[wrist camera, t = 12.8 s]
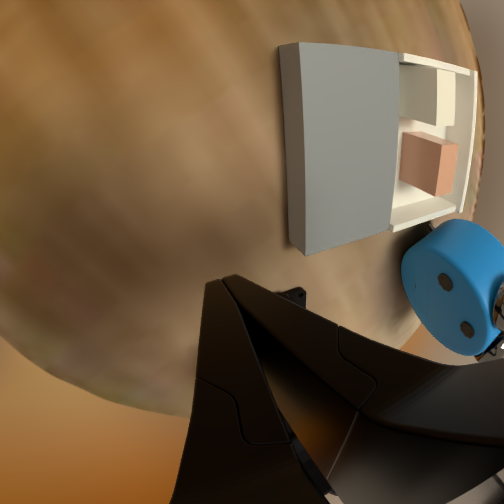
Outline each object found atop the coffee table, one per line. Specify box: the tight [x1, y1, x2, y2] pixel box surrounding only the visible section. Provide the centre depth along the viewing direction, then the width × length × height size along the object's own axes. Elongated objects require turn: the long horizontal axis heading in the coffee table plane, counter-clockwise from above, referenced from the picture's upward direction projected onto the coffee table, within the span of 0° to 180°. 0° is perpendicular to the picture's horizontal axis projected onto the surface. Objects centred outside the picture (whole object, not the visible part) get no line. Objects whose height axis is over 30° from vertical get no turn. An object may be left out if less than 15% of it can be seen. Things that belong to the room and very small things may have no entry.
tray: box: [389, 53, 477, 232], centre depth 22 cm, size 14×10×4 cm
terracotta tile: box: [399, 131, 459, 197], centre depth 22 cm, size 4×4×2 cm
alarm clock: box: [401, 219, 504, 363], centre depth 26 cm, size 13×6×15 cm, turn 23°
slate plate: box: [279, 42, 399, 256], centre depth 20 cm, size 14×8×2 cm, turn 5°
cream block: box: [399, 65, 455, 126], centre depth 19 cm, size 4×4×2 cm
